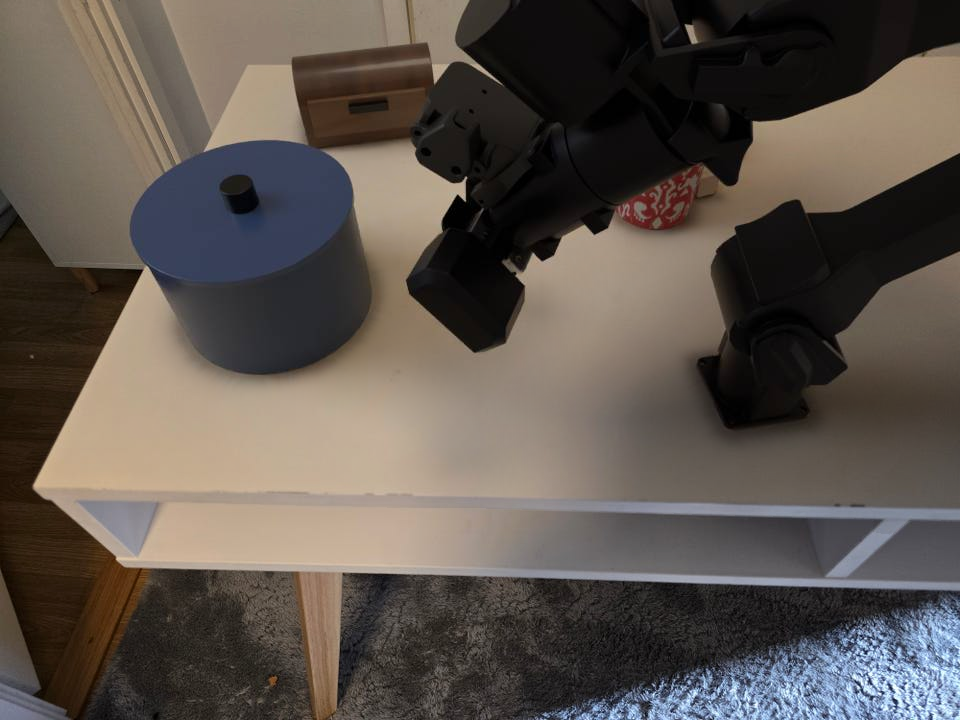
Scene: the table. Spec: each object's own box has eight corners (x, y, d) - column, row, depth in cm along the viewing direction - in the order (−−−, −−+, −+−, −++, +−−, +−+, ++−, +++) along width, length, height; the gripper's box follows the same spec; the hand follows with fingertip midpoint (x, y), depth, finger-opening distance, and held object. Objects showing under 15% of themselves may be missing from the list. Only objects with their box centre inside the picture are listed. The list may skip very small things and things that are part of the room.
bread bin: (440, 139, 73) (434, 68, 67) (309, 155, 72) (291, 84, 66) (430, 99, 78) (424, 29, 72) (308, 113, 77) (291, 44, 71)
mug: (706, 238, 62) (747, 104, 52) (606, 236, 63) (627, 103, 52) (688, 156, 70) (720, 25, 60) (599, 155, 71) (616, 25, 60)
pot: (377, 363, 55) (350, 247, 45) (169, 388, 54) (95, 276, 44) (370, 228, 65) (347, 110, 55) (195, 248, 64) (140, 131, 54)
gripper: (555, -43, 39) (402, 102, 50) (424, 140, 28) (267, 272, 39) (667, 107, 43) (503, 209, 54) (592, 315, 32) (407, 388, 44)
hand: (430, 260), depth 48 cm, fingers closed
